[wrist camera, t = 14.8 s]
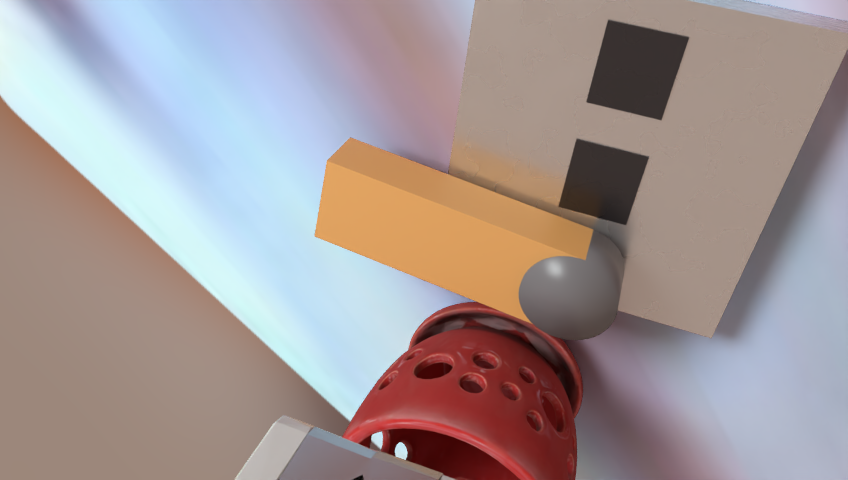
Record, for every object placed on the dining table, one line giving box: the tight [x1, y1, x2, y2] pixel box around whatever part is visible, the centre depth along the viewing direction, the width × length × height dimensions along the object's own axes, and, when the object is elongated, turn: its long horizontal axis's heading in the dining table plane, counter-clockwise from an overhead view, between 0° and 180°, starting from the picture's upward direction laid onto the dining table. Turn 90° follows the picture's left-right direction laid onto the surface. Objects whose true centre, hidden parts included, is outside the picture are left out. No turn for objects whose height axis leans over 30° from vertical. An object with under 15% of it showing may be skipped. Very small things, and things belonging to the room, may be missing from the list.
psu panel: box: [448, 0, 848, 338], centre depth 37 cm, size 16×17×2 cm
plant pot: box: [342, 302, 583, 480], centre depth 43 cm, size 13×13×12 cm
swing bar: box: [315, 137, 625, 340], centre depth 38 cm, size 5×16×3 cm, turn 77°
